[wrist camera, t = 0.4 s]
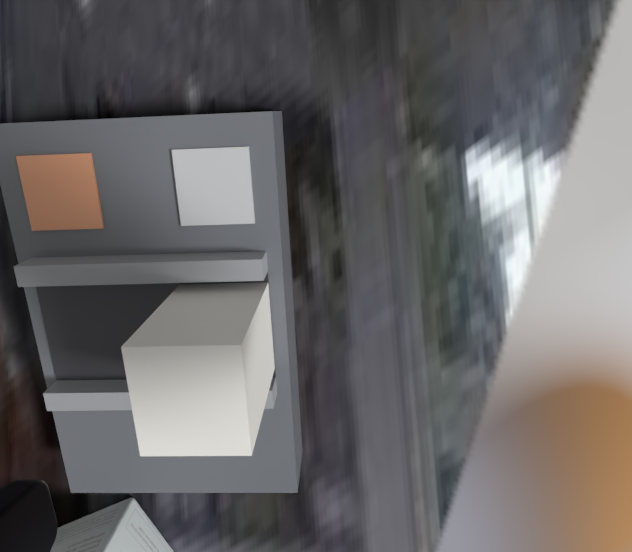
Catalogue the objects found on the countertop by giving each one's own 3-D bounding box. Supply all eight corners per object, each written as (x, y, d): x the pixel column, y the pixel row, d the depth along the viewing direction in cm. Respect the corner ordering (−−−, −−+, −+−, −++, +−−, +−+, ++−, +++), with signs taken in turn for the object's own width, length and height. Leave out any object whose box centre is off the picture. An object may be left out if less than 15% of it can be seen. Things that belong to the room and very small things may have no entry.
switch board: (302, 451, 22) (294, 512, 19) (99, 452, 23) (57, 511, 19) (281, 110, 18) (267, 111, 14) (32, 122, 18) (-37, 125, 15)
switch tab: (274, 368, 18) (251, 456, 13) (190, 369, 18) (140, 456, 14) (268, 282, 17) (241, 345, 12) (179, 284, 17) (121, 347, 13)
